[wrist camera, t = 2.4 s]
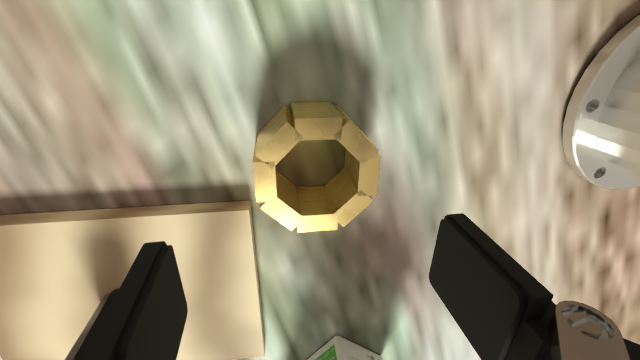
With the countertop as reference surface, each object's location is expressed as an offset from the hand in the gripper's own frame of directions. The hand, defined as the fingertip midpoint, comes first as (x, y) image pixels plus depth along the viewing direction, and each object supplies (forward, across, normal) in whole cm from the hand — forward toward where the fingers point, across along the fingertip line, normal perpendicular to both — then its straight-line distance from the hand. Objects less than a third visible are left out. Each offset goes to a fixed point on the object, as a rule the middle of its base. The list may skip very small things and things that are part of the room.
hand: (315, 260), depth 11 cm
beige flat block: (+10, +12, +10) cm, 18 cm away
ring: (+10, -1, 0) cm, 10 cm away
